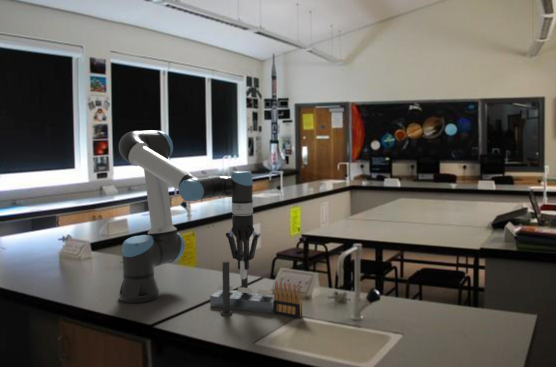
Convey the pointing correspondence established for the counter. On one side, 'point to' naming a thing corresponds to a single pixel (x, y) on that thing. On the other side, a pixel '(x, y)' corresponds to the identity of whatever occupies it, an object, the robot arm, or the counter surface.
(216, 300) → the breaker panel
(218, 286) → the paddle left
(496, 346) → the counter surface
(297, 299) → the ammunition clip
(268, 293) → the paddle right
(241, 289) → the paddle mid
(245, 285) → the cord post far
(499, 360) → the counter surface
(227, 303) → the cord post near
